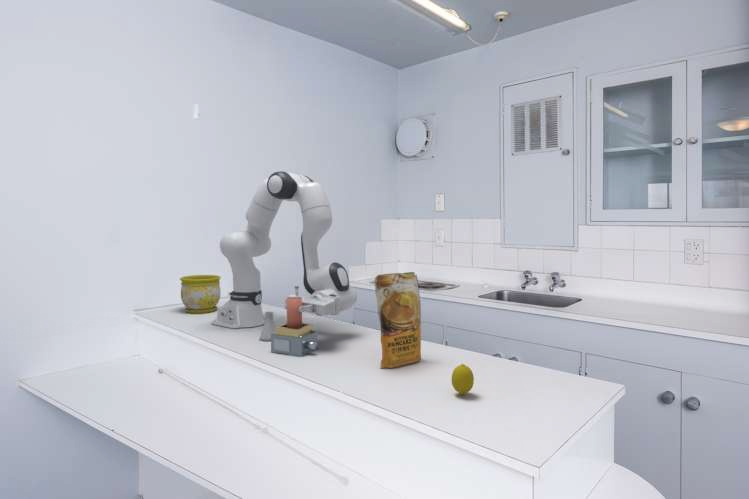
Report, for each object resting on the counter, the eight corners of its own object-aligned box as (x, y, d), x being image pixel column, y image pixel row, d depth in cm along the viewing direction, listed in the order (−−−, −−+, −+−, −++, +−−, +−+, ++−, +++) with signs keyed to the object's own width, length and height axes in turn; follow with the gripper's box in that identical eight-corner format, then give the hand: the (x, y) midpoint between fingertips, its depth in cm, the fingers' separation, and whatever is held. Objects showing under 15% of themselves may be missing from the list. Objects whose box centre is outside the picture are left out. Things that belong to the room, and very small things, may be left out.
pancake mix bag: (367, 365, 143) (368, 274, 141) (415, 355, 154) (415, 270, 152) (381, 371, 137) (382, 276, 135) (429, 360, 149) (430, 272, 147)
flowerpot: (228, 308, 231) (228, 275, 230) (204, 316, 213) (204, 280, 212) (197, 306, 236) (197, 274, 235) (172, 313, 219) (171, 278, 218)
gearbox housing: (270, 352, 156) (270, 327, 156) (288, 344, 166) (288, 321, 165) (309, 358, 150) (309, 331, 150) (325, 349, 160) (325, 325, 159)
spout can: (284, 329, 157) (283, 286, 156) (292, 326, 161) (292, 284, 160) (296, 330, 155) (296, 287, 154) (304, 327, 159) (304, 285, 158)
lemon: (477, 394, 120) (478, 363, 119) (466, 400, 116) (466, 368, 115) (458, 389, 123) (459, 359, 123) (447, 395, 119) (447, 364, 119)
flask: (274, 342, 169) (274, 314, 169) (255, 340, 171) (255, 313, 170) (282, 337, 176) (282, 310, 176) (264, 336, 178) (264, 310, 177)
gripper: (302, 291, 174) (272, 295, 163) (342, 297, 161) (313, 302, 150) (302, 307, 174) (272, 313, 164) (342, 315, 162) (313, 322, 151)
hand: (292, 308), depth 157 cm, fingers closed on spout can, 5 cm apart
